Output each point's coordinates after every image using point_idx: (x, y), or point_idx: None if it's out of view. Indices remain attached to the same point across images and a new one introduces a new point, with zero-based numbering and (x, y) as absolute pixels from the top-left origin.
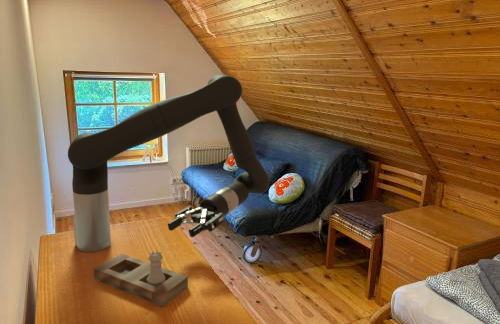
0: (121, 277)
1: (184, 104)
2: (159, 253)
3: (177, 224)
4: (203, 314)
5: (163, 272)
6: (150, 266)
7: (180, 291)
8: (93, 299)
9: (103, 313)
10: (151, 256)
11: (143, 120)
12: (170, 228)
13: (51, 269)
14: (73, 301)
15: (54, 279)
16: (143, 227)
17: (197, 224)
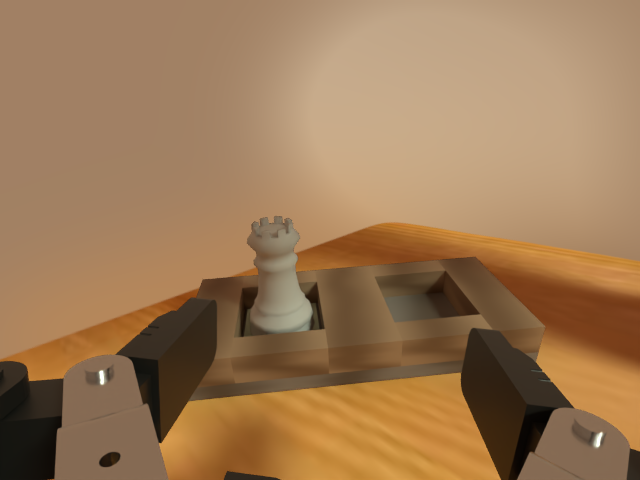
0: (369, 269)
1: None
2: (264, 232)
3: (494, 427)
4: (78, 343)
5: (281, 333)
6: (357, 331)
7: None
8: (377, 262)
9: (316, 256)
10: (275, 218)
11: None
12: (465, 365)
13: (591, 261)
14: (400, 247)
15: (525, 253)
16: None
17: (162, 345)
